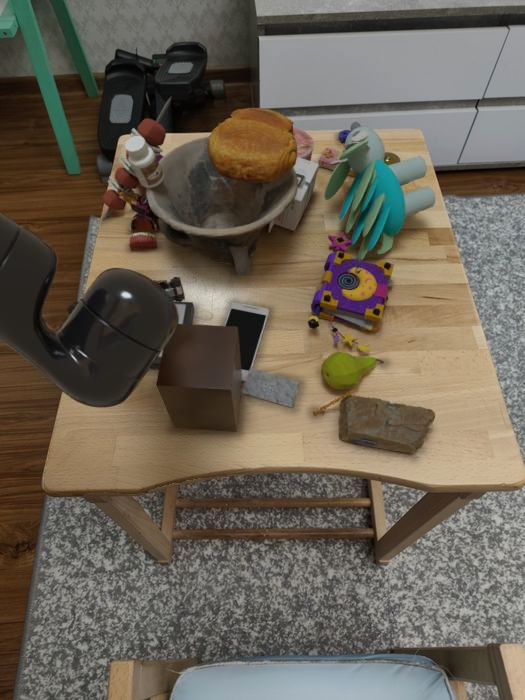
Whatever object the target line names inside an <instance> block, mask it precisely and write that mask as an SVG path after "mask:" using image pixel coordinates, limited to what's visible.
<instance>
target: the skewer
mask: <svg viewBox="0 0 525 700" xmlns="http://www.w3.org/2000/svg"><path fill="white" fill-rule="evenodd" d="M172 97H173V96H170V97H169V98H168V99H167V101H166V102H165V104H164V106H163V107H162V109H161V111H160V113H159V115H158V117H157V119H156V120H154V119H153V118H144V119H143V120H142V121H141V122H140V123H139V124H138V126H137V129H135V128H134V127H133V128H132V129H131V132H130V134H129V135H130V138H131V137H134V136H141V137H143V138H144V139H145V141H146V143H147V145H148V147H150V148H151V149H152V150H153V151H154V153H155V155H156V156H157V155H160V154H161V153H163V150H164V149H162V148H161V147H160V146H162V145H164V143H165V140H166V136H167V134H166V133H167V130H166V129H165V128H164V126H163V125H162V124H161V123H160V122H161V120H162V118H163V117H164V115H165V113H166V111H167V110H168V107H169V105H170V104H171V100H172ZM128 160H129V155H128V153H127V151H126V150H125V155H124V154H123V153H120V154H119V158H118V162H119V163H120V164H121V165H122V167H118V168H116V170H115V173H114V178H113V177H112V175H109V177H108V180H107V183H108V184H109V186H110V187H111V188H112V189H108V190H107V191H106V192H105V193H104V194H103V195H102V197H101V198H102V199H101V201H102V203H103V204H104V205H105V206H106V207H108V208H107V210H106V212H105V214H104V215H103V218H102V221H105V220H107V219H108V217H109V215H110V213H111V211H112V210H114V211H118V212H120V211H124V210H125V209H126V206H127V202H126V201H124V200H122V199H120V198H119V195H120V194H119V190H120V189H122V190H124V189H125V188H129V189H130V191H131V192H132V193H136V192H135V191H134V190H135V189H137V188H138V187H139V185H140V184H139V179H138V178H137V176H136V174H135V172H134V170H133V168H132V166H131V164H130V162H129V161H128Z"/></svg>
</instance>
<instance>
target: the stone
mask: <svg viewBox="0 0 525 700" xmlns="http://www.w3.org/2000/svg"><path fill="white" fill-rule="evenodd" d="M339 407H340V409H339V413H340V415H339V417H338V426H339V427H338V428H339V429H338V432H339V434H338V438H339V439H340V440H342V441H347V442H352V443H356V444H359V445H362V446H367V447H371V448H377V449H384V450H389V451H392V452H393V451H395V452H402V453H404V454H410V455H414V454H415V452H416V450H417V449H419V448H420V447H421V446H423V444H424V443H425V436H426V434H427V431H428V430H429V428H430V427H431V426H432V425H433V422H435V418H436V412H435V411H434V410H433V409H431V408H426V407H422V406H414V405H407V404H405V403H397V402H393V403H392V402H391V401H389V400H385V399H382V398H378V397H366V396H360V395H352V394H350V395H348V397H344V399H340V401H339Z"/></svg>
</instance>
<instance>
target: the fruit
mask: <svg viewBox="0 0 525 700" xmlns="http://www.w3.org/2000/svg"><path fill="white" fill-rule="evenodd" d="M377 362H380V363H382V364H384V362H385V361H384V360H381V359H379V358H376V357H373V356H357V355H352V354H350V353H349V352H345V351H336V352H333V353H331V354H330V355H328V357H326V359H325V360H323V362H322V363H321V376H322V378H323V380H324V381H325V382H326V383H327V385H328V386H329V387H330V388H331V389H334V390H348V389H350V388H352V387H353V386H355V384H357V383H358V382H359V381H360V380H361V378H362V377H363V376H364V375H365V374H367V373H368V372H369V371H371V370H372V369H373V368H374V366H376V364H377Z"/></svg>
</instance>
